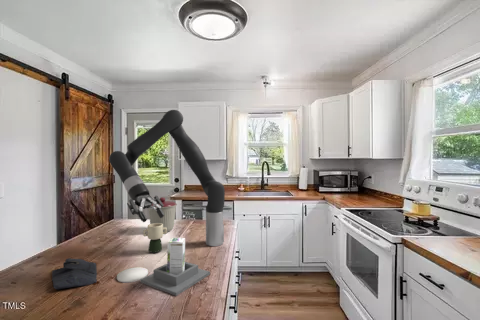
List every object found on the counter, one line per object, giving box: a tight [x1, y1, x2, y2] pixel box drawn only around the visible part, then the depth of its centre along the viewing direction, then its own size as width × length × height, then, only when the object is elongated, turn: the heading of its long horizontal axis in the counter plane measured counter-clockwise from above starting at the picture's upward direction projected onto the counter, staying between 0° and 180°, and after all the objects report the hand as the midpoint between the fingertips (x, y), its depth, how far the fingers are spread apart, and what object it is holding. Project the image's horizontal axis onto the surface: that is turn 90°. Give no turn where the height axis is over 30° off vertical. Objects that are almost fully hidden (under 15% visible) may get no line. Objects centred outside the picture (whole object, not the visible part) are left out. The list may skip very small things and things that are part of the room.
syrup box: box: [166, 237, 186, 275], centre depth 94 cm, size 6×6×14 cm
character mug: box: [142, 223, 168, 253], centre depth 122 cm, size 11×7×13 cm, turn 113°
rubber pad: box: [116, 266, 149, 284], centre depth 96 cm, size 11×11×1 cm
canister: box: [147, 196, 178, 233], centre depth 158 cm, size 18×18×21 cm
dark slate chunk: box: [51, 257, 98, 290], centre depth 95 cm, size 15×22×5 cm
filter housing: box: [139, 261, 211, 297], centre depth 94 cm, size 18×18×4 cm
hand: (154, 218), depth 101 cm, fingers open, 8 cm apart
